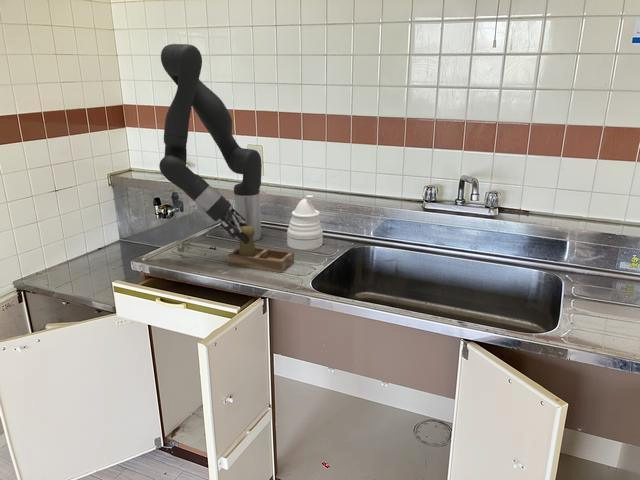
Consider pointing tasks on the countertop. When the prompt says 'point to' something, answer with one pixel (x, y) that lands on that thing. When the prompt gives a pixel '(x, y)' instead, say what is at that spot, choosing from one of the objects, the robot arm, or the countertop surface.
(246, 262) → the spice caddy
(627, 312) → the countertop surface
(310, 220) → the honey pot
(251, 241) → the cork
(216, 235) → the countertop surface
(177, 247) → the countertop surface
